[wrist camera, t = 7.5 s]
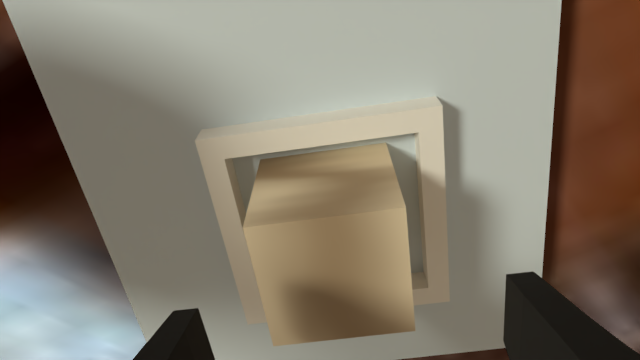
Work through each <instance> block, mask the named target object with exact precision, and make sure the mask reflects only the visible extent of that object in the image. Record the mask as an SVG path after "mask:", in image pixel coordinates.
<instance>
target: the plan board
mask: <svg viewBox="0 0 640 360" xmlns="http://www.w3.org/2000/svg"><path fill="white" fill-rule="evenodd" d="M3 3H4V5H5V7H6V10H7V12H8V14H9V17H10V19H11V22H12V24H13V26H14V29H15V31H16V33H17V36H18V38H19V41H20V43H21V45H22V48H23V50H24V52H25V55H26V57H27V59H28V62H29V64H30V67H31V69H32V71H33V74H34V76H35V78H36V81H37V83H38V86H39V88H40V90H41V93H42V95H43V97H44V100H45V102H46V105H47V107H48V109H49V112H50V114H51V116H52V119H53V121H54V124H55V126H56V128H57V131H58V133H59V135H60V138H61V140H62V142H63V145H64V147H65V150H66V152H67V154H68V157H69V159H70V161H71V164H72V166H73V169H74V171H75V173H76V176H77V178H78V180H79V183H80V185H81V188H82V190H83V192H84V195H85V197H86V199H87V202H88V204H89V207H90V209H91V211H92V214H93V216H94V218H95V221H96V223H97V225H98V228H99V230H100V233H101V235H102V237H103V240H104V242H105V244H106V247H107V249H108V252H109V254H110V256H111V259H112V261H113V263H114V266H115V268H116V271H117V273H118V275H119V278H120V280H121V282H122V285H123V287H124V290H125V292H126V294H127V297H128V299H129V301H130V304H131V306H132V308H133V311H134V313H135V316H136V318H137V320H138V323H139V325H140V327H141V330H142V332H143V335H144V337H145V339H146V342H148V341H149V339H150V338H151V337H152V336H153V334H154V333H155V332H156V331H157V330H158V328H159V327H160V326H161V325H162V324H163V322H164V321H165V320H166V319H167V318H168V316H169V315H170V314H171V313H172V312H173V311H175V310H185V309H194V308H198V309H199V312H200V315H201V318H202V321H203V324H204V327H205V330H206V333H207V336H208V339H209V342H210V345H211V348H212V352H213V355H214V358H215V360H397V359H407V358H416V357H425V356H435V355H444V354H453V353H463V352H472V351H481V350H491V349H500V348H506V347H505V344H504V341H503V335H504V311H505V288H506V274H514V273H523V272H532V271H533V272H535V273H536V274H537V275H538V276H540V277H541V278H542V270H543V256H544V242H545V228H546V214H547V200H548V185H549V171H550V157H551V143H552V129H553V115H554V101H555V87H556V73H557V59H558V45H559V31H560V17H561V3H562V0H3ZM379 143H386V144H387V147H388V151H389V154H390V157H391V160H392V164H393V167H394V170H395V173H396V177H397V180H398V183H399V186H400V189H401V193H402V196H403V199H404V202H405V206H406V214H407V227H408V240H409V253H410V266H411V279H412V292H413V305H414V318H415V331H410V332H401V333H392V334H383V335H373V336H364V337H355V338H346V339H337V340H327V341H318V342H309V343H300V344H290V345H281V346H273V343H272V339H271V335H270V332H269V328H268V324H267V320H266V316H265V312H264V308H263V304H262V301H261V297H260V293H259V289H258V285H257V281H256V277H255V273H254V270H253V266H252V262H251V258H250V254H249V250H248V246H247V242H246V239H245V235H244V231H243V225H244V221H245V217H246V213H247V209H248V205H249V201H250V198H251V194H252V190H253V186H254V182H255V178H256V174H257V170H258V167H259V163H260V159H267V158H274V157H282V156H289V155H297V154H304V153H312V152H319V151H327V150H334V149H341V148H349V147H356V146H364V145H371V144H379Z"/></svg>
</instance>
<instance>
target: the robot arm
mask: <svg viewBox="0 0 640 360" xmlns="http://www.w3.org/2000/svg"><path fill="white" fill-rule="evenodd" d="M503 341H504V344H505V347H506V350H507V353H508V356H509V359H510V360H640V354H638V353H637V352H635V351H634V350H632V349H631V348H630V347H628V346H627V345H625V344H624V343H623V342H621V341H620V340H619V339H617V338H616V337H615V336H613V335H612V334H611V333H609V332H608V331H607V330H606V329H604V328H603V327H602V326H600V325H599V324H598V323H596V322H595V321H594V320H592V319H591V318H590V317H589V316H587V315H586V314H585V313H584V312H582V311H581V310H580V309H579V308H577V307H576V306H575V305H574V304H573V303H571V302H570V301H569V300H568V299H566V298H565V297H564V296H563V295H562V294H560V293H559V292H558V291H557V290H556V289H554V288H553V287H552V286H551V285H549V284H548V283H547V282H546V281H545V280H543V279H542V278H541V277H540V276H538V275H537V274H536V273H535V272H533V271H532V272H523V273H514V274H506V288H505V311H504V335H503ZM133 360H215V358H214V355H213V352H212V348H211V345H210V342H209V339H208V336H207V333H206V330H205V327H204V324H203V321H202V318H201V315H200V312H199V309H198V308H194V309H185V310H175V311H173V312H172V313H171V314H170V315H169V316H168V318H167V319H166V320H165V321H164V322H163V324H162V325H161V326H160V327H159V328H158V330H157V331H156V332H155V333H154V334H153V336H152V337H151V338H150V339H149V341H148V342H147V343H146V344H145V345H144V347H143V348H142V349H141V350H140V351H139V353H138V354H137V355H136V356H135V358H134V359H133Z"/></svg>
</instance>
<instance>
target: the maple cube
mask: <svg viewBox="0 0 640 360" xmlns="http://www.w3.org/2000/svg"><path fill="white" fill-rule="evenodd" d="M243 231H244V235H245V239H246V242H247V246H248V250H249V254H250V258H251V262H252V266H253V270H254V273H255V277H256V281H257V285H258V289H259V293H260V297H261V301H262V304H263V308H264V312H265V316H266V320H267V324H268V328H269V332H270V335H271V339H272V343H273V346H281V345H290V344H300V343H309V342H318V341H327V340H337V339H346V338H355V337H364V336H373V335H383V334H392V333H401V332H410V331H415V318H414V305H413V292H412V279H411V266H410V253H409V240H408V227H407V214H406V206H405V202H404V199H403V196H402V193H401V189H400V186H399V183H398V180H397V177H396V173H395V170H394V167H393V164H392V160H391V157H390V154H389V151H388V147H387V144H386V143H379V144H371V145H364V146H356V147H349V148H341V149H334V150H327V151H319V152H312V153H304V154H297V155H289V156H282V157H274V158H267V159H260V163H259V167H258V170H257V174H256V178H255V182H254V186H253V190H252V194H251V198H250V201H249V205H248V209H247V213H246V217H245V221H244V225H243Z"/></svg>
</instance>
